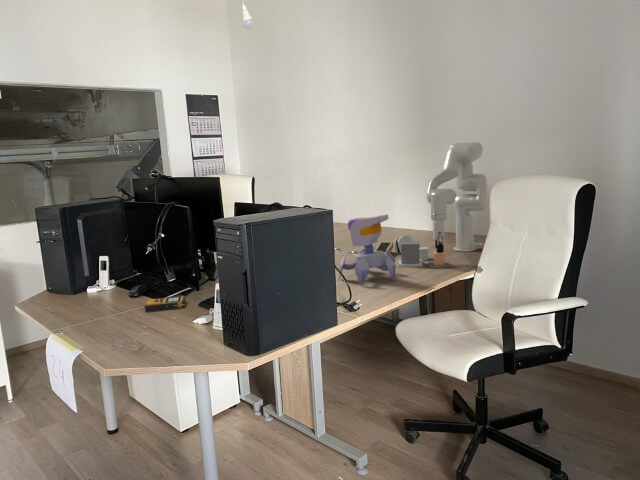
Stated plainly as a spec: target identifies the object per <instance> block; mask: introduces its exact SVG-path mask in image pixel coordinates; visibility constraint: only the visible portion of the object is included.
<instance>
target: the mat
mask: <svg viewBox="0 0 640 480" xmlns="http://www.w3.org/2000/svg"><path fill="white" fill-rule="evenodd" d="M427 263H428V268H429V269H451V265H450V262H449V261H445V265H434V261H428V262H427Z"/></svg>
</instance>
